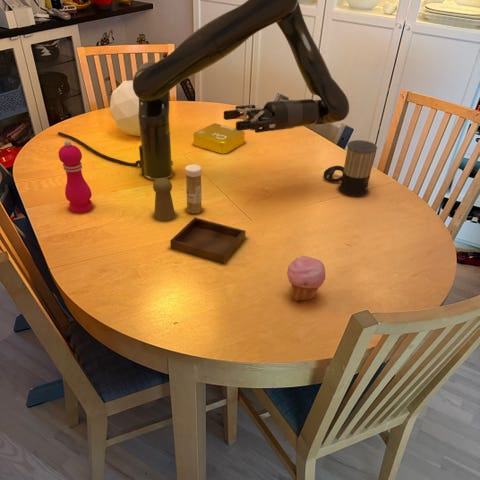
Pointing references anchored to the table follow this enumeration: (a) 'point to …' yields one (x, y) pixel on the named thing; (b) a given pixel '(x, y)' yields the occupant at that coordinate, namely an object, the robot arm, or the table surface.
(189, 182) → the sprinkles bottle
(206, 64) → the robot arm
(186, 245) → the tray
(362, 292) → the table surface
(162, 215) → the olive chess pawn
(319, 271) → the cupcake
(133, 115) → the ball
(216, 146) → the element tile
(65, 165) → the pepper mill
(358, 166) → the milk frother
